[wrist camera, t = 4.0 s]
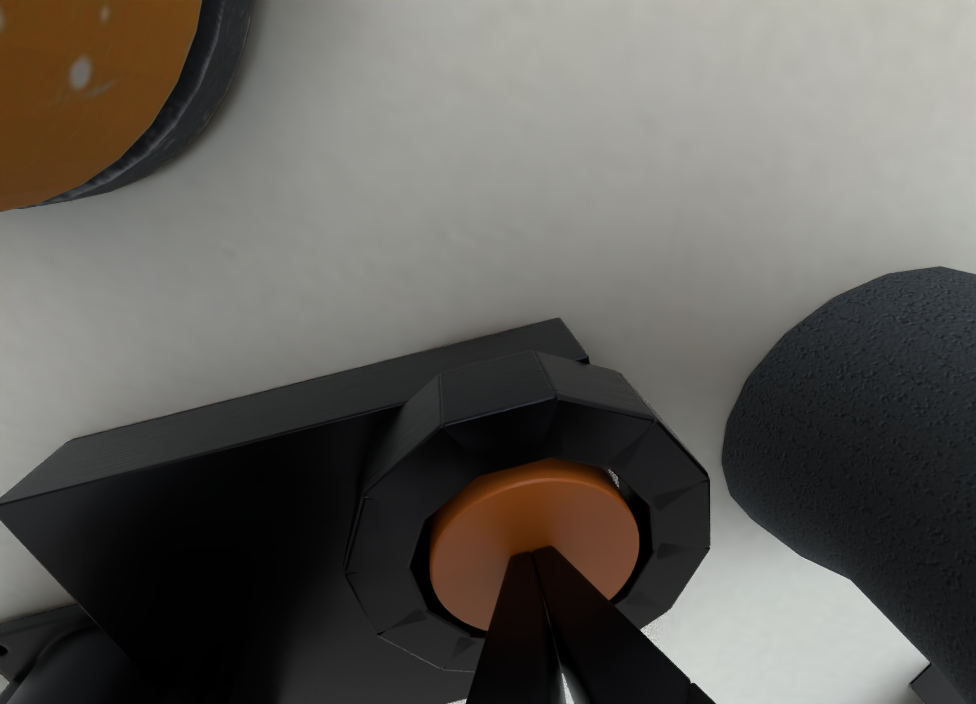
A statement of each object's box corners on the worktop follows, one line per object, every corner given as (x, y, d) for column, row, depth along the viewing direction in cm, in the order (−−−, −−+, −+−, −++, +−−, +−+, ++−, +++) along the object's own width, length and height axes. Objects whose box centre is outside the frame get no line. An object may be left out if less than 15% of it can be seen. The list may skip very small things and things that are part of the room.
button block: (251, 681, 15) (196, 850, 12) (54, 425, 11) (-135, 570, 7) (646, 578, 15) (712, 712, 12) (616, 284, 11) (711, 356, 7)
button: (454, 581, 11) (459, 655, 9) (406, 450, 9) (401, 514, 8) (616, 539, 11) (647, 605, 10) (597, 401, 9) (632, 454, 8)
